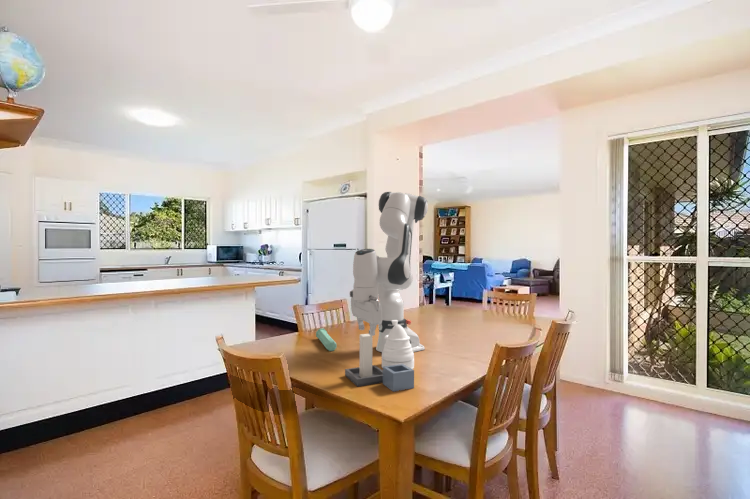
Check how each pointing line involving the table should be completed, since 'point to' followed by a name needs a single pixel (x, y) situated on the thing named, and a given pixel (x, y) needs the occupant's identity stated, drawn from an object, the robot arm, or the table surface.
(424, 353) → the table surface
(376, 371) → the tray
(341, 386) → the table surface
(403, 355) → the honey pot
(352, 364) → the table surface
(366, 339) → the peg
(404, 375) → the socket
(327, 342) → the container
